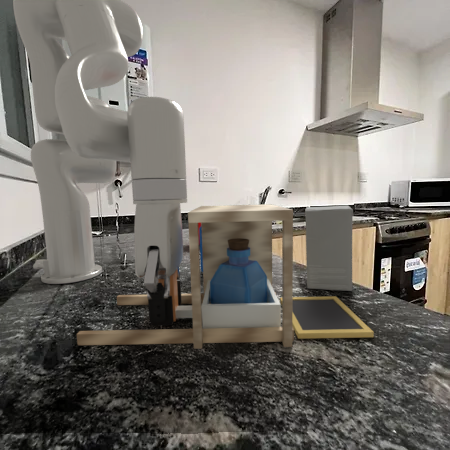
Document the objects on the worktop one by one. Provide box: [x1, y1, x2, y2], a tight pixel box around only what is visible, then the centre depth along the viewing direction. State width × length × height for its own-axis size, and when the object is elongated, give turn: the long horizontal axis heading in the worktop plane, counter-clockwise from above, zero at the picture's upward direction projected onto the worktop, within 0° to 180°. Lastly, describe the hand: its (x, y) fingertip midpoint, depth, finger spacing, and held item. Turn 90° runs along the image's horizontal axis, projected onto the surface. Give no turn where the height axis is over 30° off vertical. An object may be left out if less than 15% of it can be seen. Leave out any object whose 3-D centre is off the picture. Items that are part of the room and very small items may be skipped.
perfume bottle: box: [210, 238, 267, 304], centre depth 39 cm, size 6×6×12 cm
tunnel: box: [187, 203, 294, 350], centre depth 38 cm, size 12×15×17 cm
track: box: [76, 291, 295, 346], centre depth 39 cm, size 28×13×2 cm, turn 89°
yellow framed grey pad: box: [279, 295, 375, 340], centre depth 39 cm, size 10×12×1 cm
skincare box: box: [305, 205, 354, 292], centre depth 51 cm, size 8×7×16 cm
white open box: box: [158, 271, 282, 329], centre depth 39 cm, size 18×10×7 cm, turn 89°
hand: (166, 312), depth 39 cm, fingers open, 5 cm apart
